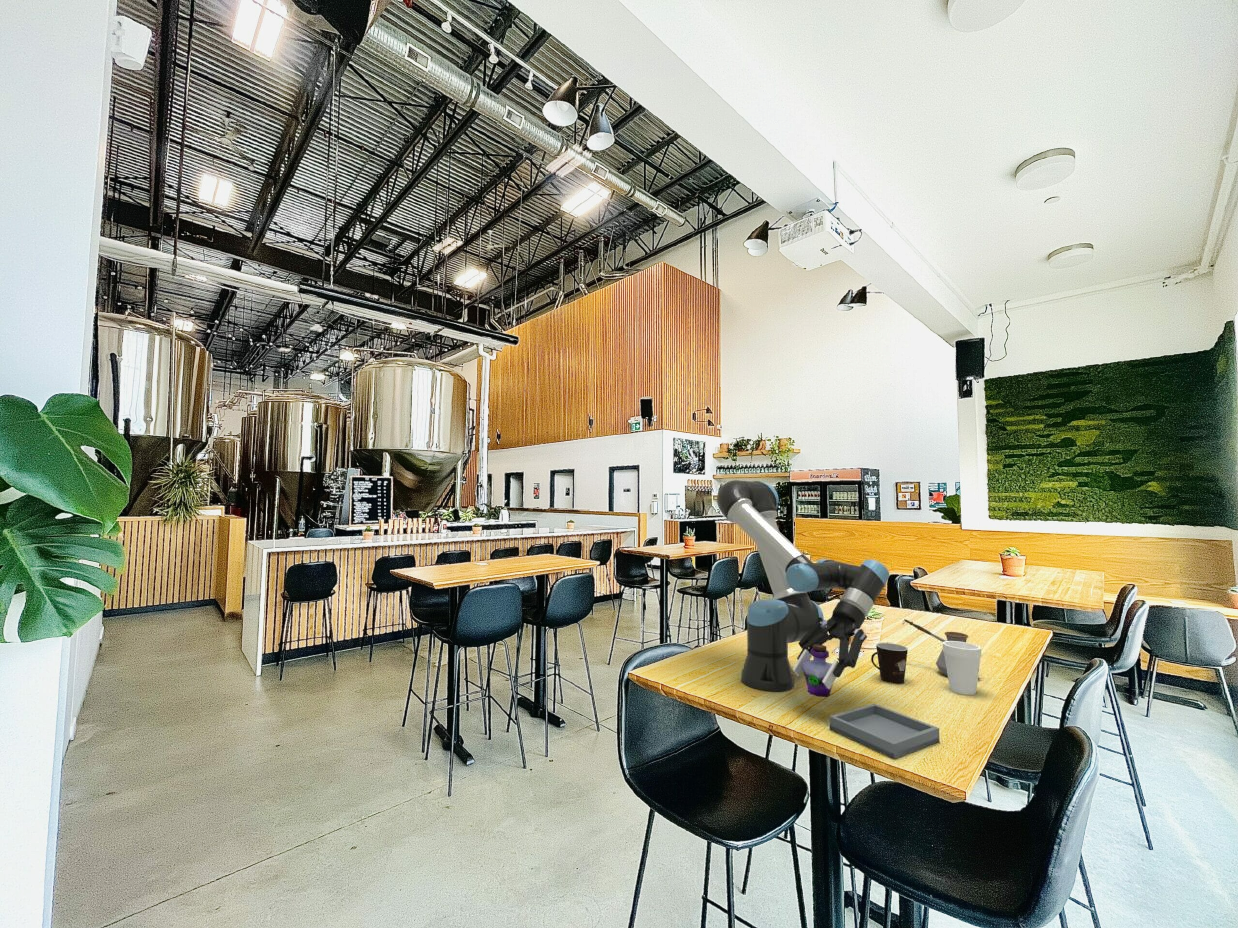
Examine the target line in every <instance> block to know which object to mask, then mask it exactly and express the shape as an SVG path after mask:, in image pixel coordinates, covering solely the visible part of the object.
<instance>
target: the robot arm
mask: <svg viewBox="0 0 1238 928" xmlns="http://www.w3.org/2000/svg"><path fill="white" fill-rule="evenodd" d="M716 495H717V496H716V503H717V507H718V509H719V511H720V512H721V514H722V516H723V517H725V518H726V519H727V521H729V522H730V523H731V524H736V525H737V526H738V527H739V528H740V529H741V530H742V531H743V532H744V533H745V534H746V535H747V536H748V537H749V538H750V539H751V540H752V541H753V542H754V543H755V545H756V548H757V550H758V554H759V556H760V559H761V562H762V565H763V568H764V571H765V574H766V577H767V579H768V583H769V586H770V588H771V591H772V594H773V597H772V599H771V598H769V599H759V600H758V599H757V600H756V601H753V602H751V603H750V604H749V605H748V608H747V616H746V627H747V628H746V630H747V631H746V633H747V634H746V636H747V639H746V643H747V648H746V649H747V650H746V651H747V653H746V656H745V657H746V658H745V660H744V663H743V668H742V670H741V672H740V674H741V675H740V676H741V677H740V680H741V682H742V683H743V684H744V685H746V686H748V687H750V688H753V689H758V690H761V691H769V692H784V691H789V690H791V689H793V688H794V687H795V677H794V674H793V673H792V671H793V672H794V673H795V675H796V676H797V677H801V675H802V673H803V668H802V662H804V661H806V660H812V659H811V658H812V657H813V656H812V655H811V654H810V649H812V648H813V645H814V644H819V645H824V644H825V643H827V642H828V641H832V640H834V639H835V640H836V639H837V640H839V649H838V650H839V651H838V658H836V659H837V660H836V659H835V660H833V663H831V664H832V666H831V667H830V669H829V671H828V672H827V674H826V676H825V677H824V679H823V681H822V682H823V683H824V685H825V686H826V687H827V688H828V689H830V688H831V686H832V687H833V685H834V683H835V681H836V680H837V678H840V677H841V675H842V674H843V672H844V670H845V669H846V668H848V667H849V668H852V669H855V667H856V665H857V661H858V658H859V655H860V654H861V653H860V652H861V650H862V646H863V643H864V642H865V641H866V639H867V638H868V636H867V634H866V633H865V631H864V630H863V628H861V627H862V625H863V624H864V622H865V620H866V617H867V616H868V615H869V613H870V611H872V610H871V609H872V608H873V606H874V604H875V603H876V601H877V598H878V597H879V596H880V594H881V593H882V592H883V589H885V587H886V584H887V582H888V580H889V578H890V571H889V570H888V568H887V567H886V566H885V565H884V564H883V563H881V562H880V561H877V560H875V559H871V558H870V559H865V560H864V561H863V562H862V563H861V564H860V565H855V564H850V563H845V562H841V561H837V560H834V559H827V558H826V559H825V558H820V559H819V560H817V561H816V562H813V561H812V560H811V559H810V558H808V557H807V556H806V555H805V554H804V553H803V552H802V551H801V550H799V548H798V547H796V546H795V545H794V544H793V543H792V542H791V541H790V540H789V539H788V538H787V537H786V536H785V535H784V534H782V532H780V530H779V527H778V524H777V521H776V518H777V515H778V511H777V510H778V506H779V504H778V503H779V502H780V501H779V495H778V492H777V490H776V489H775V488H774V487H773V486H772V485H771V484H770V483H767V482H765V481H759V480H753V481H752V480H751V481H748V480H737V479H736V480H730V481H729V480H728V482H725V483H724V484H722V485H721V487H720V488H719V489H718V492H717V494H716ZM830 589H839V590H844V593H843V594H842V596H841V597H840V599H839V602H837V603H836V606H835V607H834V609H833V611H832V614H831V617H830V618H828V619H827V620H826V619H825V617H824V613H823V610H822V608H821V607H820V605H819V604H818V603H816V602H815V601H814V600H811V599H810V596H809V594H808V593H809V592H813V591H814V592H815V591H820V590H823V591H824V590H830ZM851 638H852V641H851ZM790 643H791V644H792V643H798V645H799V646H800V648H801V650H800V653H799V654H798V656H797V658H796V659H797V661H796V662H795V664H794V666H793V667H792V668H791V664H790V661H789V656H788V655H789V651H788V650H789V644H790ZM850 644H851V645H850ZM832 684H833V685H832Z"/></svg>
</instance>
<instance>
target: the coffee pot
mask: <svg viewBox="0 0 1238 928" xmlns="http://www.w3.org/2000/svg"><path fill="white" fill-rule="evenodd" d="M905 622H906V623H907V624H909V625H910V626H913V628H915V629H917V630H919V631H920V632H923V633H925V634H927V635H929V636H931V637H933V638H935V639H936V640H938V641H940V642H942V643H943V642H944V641H959V642H966V643H967V639H968V638H969V637H970V636H969V634H966V633H962V632H959V631H958V632H957V631H945V632H944V636H945V637H946V639H944V638H942V637H940V636H938V635H936V634H934V633H932V632H931V631H929V630H927V629H925V628H924V627H923V626H921V625H919V624H916V623H914V622H913V621H909V620H908V619H905V618H904V619H903V621H902V623H901V625H904V624H905ZM935 665H936V667H937V669H938V670H939V671H940V672H941V673H942V674H943V675H944V676H946V677H948V674H947V668H946V662H945V656H944V652H943V648H942V650H941V652H940V653H939V655H938V658H937V660H936V662H935Z"/></svg>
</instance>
